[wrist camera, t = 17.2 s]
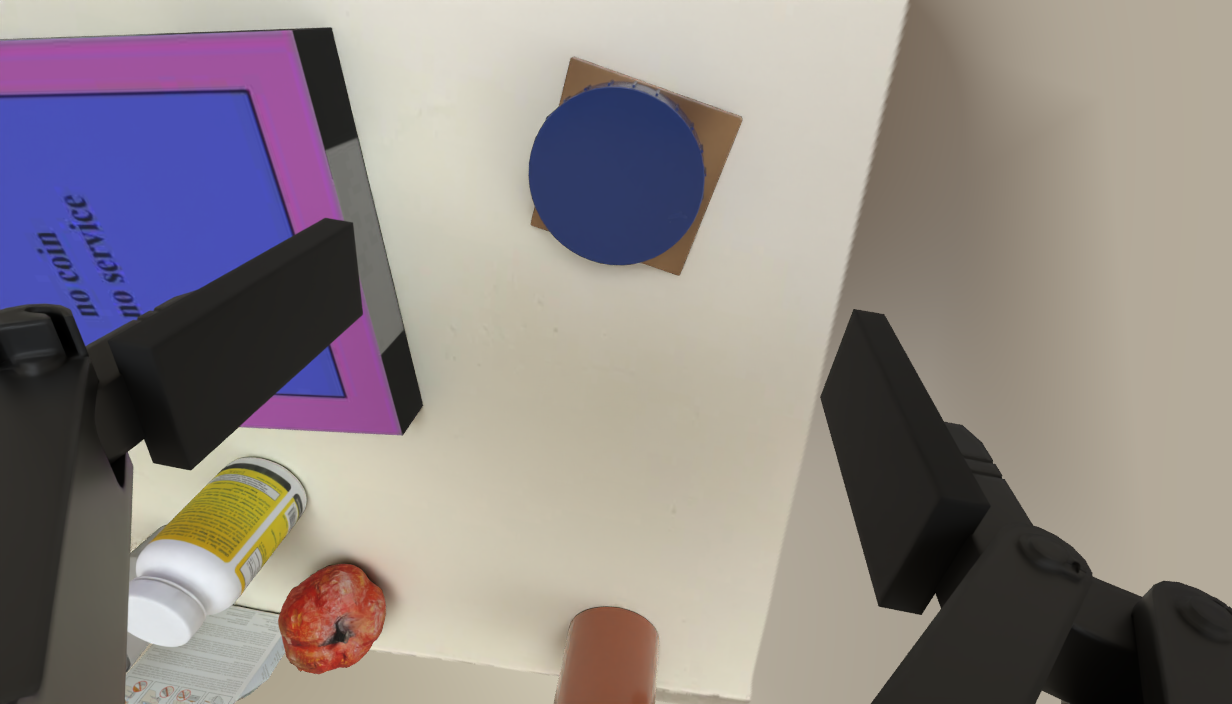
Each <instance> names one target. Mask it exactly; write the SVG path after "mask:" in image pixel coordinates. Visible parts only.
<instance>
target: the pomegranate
mask: <svg viewBox="0 0 1232 704" xmlns="http://www.w3.org/2000/svg"><path fill="white" fill-rule="evenodd" d="M385 615H386V604H385V598H384V595H383V592H382V590H381V588H379V587H378V586H377V585H375V584H374V583H373V582H371V581H370V580H369V579H368V577H367V576H366V574H365V573H364V572H363V571H362V569H360V568H358V567H356V566H355V565H350V564H336V565H329V566H327V567H325V568H323V569H321V570H319V571H317V572H316V573H314V574H312V575H311V576H310V577H309V578H307V579H306V580H305V581H303V582H302V583H300V585H299V586H297V587H294V588H293V589H292V590H291V591H290V593H289V595H288V596H287V599H286V601H285V602H284V604H283V606H282V609H281V612H280V615H279V619H278V625H279V630H280V633H281V635H282V641H283V645H284V649H285V652H286V657H287V658H288V659H289V661H290V663H291V664H293V665H295V666H296V667H297V668H298V670H300V671H302V670H303V671H305V672H309V673H314V674H321V673H324V672H326V671H329V670H333V669H336V668H339V667H342V668H344V667H346V668H347V667H350V666H351V665H353V664H355V663H357V662H358V661H359V660H360V659H361V658H362V657H363V656H364V655H365V654H366V653H367V652H368V651H369V649H370V648H371V646H372V644H373V642H374V641H375V640H377V638H378V637H379V635H380V634H381V632H382V629H383V624H384V620H385Z"/></svg>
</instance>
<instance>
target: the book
mask: <svg viewBox="0 0 1232 704" xmlns="http://www.w3.org/2000/svg"><path fill="white" fill-rule="evenodd" d="M324 218H330V219H336V220H342V221H348V222H353V226H354V235H355V244H356V253H357V263H358V272H359V281H360V290H361V299H362V308H363V315H362V316H361V317H360V318H359V319H358V320H357V321H355V322H354V323H353V324H352V325H351V326H350V327H349V328H348V329H347V330H345V331H344V332H343V333H342V334H341V335H340V336H339V337H338V338H337V339H336V340H334V341H333V342H332V343H331V344H330V345H329V346H328V347H327V348H326V349H324V350H323V351H322V352H321V353H320V354H319V355H318V356H317V357H316V358H315V359H313V360H312V361H311V362H310V363H309V364H308V365H307V366H306V367H305V368H303V369H302V370H301V371H300V372H299V373H298V374H297V375H296V376H295V377H294V378H292V379H291V380H290V381H289V382H288V383H287V384H286V385H285V386H284V387H282V388H281V389H280V390H279V391H278V392H277V393H276V394H275V395H274V396H273V397H271V398H270V399H269V400H268V401H267V402H266V403H265V404H264V405H263V406H262V407H260V408H259V409H258V410H257V411H256V412H255V413H254V414H253V415H252V416H250V417H249V418H248V419H247V420H246V421H245V422H244V423H243V424H242V425H241V426H239V427H248V428H268V429H287V430H307V431H326V432H346V433H365V434H385V435H403V434H404V433H405V431H406V430H407V428H408V427H409V425H410V424H411V423H412V421H413V420H414V418H415V417H416V415H417V414H418V412H419V411H420V409H421V408H422V406H423V404H422V400H421V396H420V391H419V387H418V383H417V379H416V375H415V371H414V367H413V363H412V358H411V354H410V350H409V346H408V342H407V338H406V334H405V330H404V325H403V321H402V317H401V313H400V309H399V305H398V301H397V297H396V292H395V288H394V284H393V280H392V276H391V272H390V268H389V264H388V259H387V255H386V251H385V247H384V243H383V239H382V235H381V231H380V226H379V222H378V218H377V214H376V210H375V206H374V202H373V198H372V193H371V189H370V185H369V181H368V177H367V173H366V169H365V165H364V160H363V156H362V152H361V148H360V144H359V140H358V136H357V132H356V127H355V123H354V119H353V115H352V111H351V107H350V103H349V99H348V94H347V90H346V86H345V82H344V78H343V74H342V70H341V65H340V61H339V57H338V53H337V49H336V45H335V41H334V37H333V32H332V28H304V29H276V30H248V31H220V32H193V33H165V34H137V35H109V36H82V37H54V38H26V39H0V310H1V309H4V308H9V307H14V306H20V305H26V304H45V303H46V304H55V305H62V306H64V307H66V308H68V309H71V311H72V314H73V316H74V319H75V321H76V324H77V326H78V329H79V331H80V334H81V336H82V339H83V341H84V344H85V346H86V345H88V344H90V343H92V342H94V341H95V340H97V339H99V338H101V337H103V336H104V335H106V334H108V333H110V332H112V331H114V330H115V329H117V328H119V327H121V326H123V325H124V324H126V323H128V322H130V321H132V320H137V317H139V316H141V315H142V314H144V313H146V312H148V311H150V310H151V311H154V308H155V307H157V306H159V305H161V304H162V303H164V302H166V301H168V300H170V299H171V298H173V297H176V296H179V295H182V294H185V293H188V292H192V291H195V290H198V289H200V288H201V287H203V286H205V285H207V284H208V283H210V282H212V281H214V280H216V279H217V278H219V277H221V276H223V275H224V274H226V273H228V272H230V271H232V270H233V269H235V268H237V267H239V266H240V265H242V264H244V263H246V262H247V261H249V260H251V259H253V258H255V257H256V256H258V255H260V254H262V253H263V252H265V251H267V250H269V249H271V248H272V247H274V246H276V245H278V244H279V243H281V242H283V241H285V240H286V239H288V238H290V237H292V236H294V235H295V234H297V233H299V232H301V231H302V230H304V229H306V228H308V227H310V226H311V225H313V224H315V223H317V222H318V221H320V220H322V219H324Z"/></svg>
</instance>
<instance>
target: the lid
mask: <svg viewBox="0 0 1232 704" xmlns="http://www.w3.org/2000/svg"><path fill="white" fill-rule="evenodd" d="M563 102H564V103H563V104H561V105H560V106H559V107H558V108H557V109H556V110H555V111H553V113H551V114H550V115H549V116H547V118H546V119H547V120H546V121H545V122H544V124H543V126H542V127H541V129H540V130H539V132H538V135H537V136H536V138H535V141H534V144H533V147H532V151H531V155H530V161H529V185H530V191H531V195H532V199H533V202H534V205H535V208H536V210H537V212H538V214H539V216H540V218H541V220H542V221H543V223H544V224H545V226H546V228H547V229H548V230H549V231H550V232H551V234H552V235H553V236H554V237H555V238H556V239H557V240H558V241H559V242H560V243H561V244H562V245H564V246H565V247H566V248H568V249H569V250H571V251H572V252H574V253H576V254H577V255H579V256H581V257H584V258H586V259H588V260H591V261H595V262H598V263H602V264H609V265H630V264H636V263H640V262H644V261H647V260H650V259H653V258H655V257H657V256H659V255H661V254H663V253H664V252H666V251H667V250H668V249H670V248H671V247H673V246H674V245H675V244H676V243H677V242H678V241H679V240H680V239H681V238H682V237H683V236H684V235H685V234H686V232H687V231H688V230H689V228H690V226H691V225H692V223H693V222H694V220H695V218H696V216H697V214H698V211H699V208H700V205H701V202H702V200H703V199H704V182H705V176H706V167H704V156H703V144H701V143H700V140H699V137H698V134H697V132H696V130H695V128H694V123H693V122H692V123H691V121H690V120H689V118H688V117H687V115H686V114H685V113H684V112H683V111H682V110H681V108H680V107H679V104H676V103H674V102H673V101H672V100H671V99H670V98H668V97H667V96H665V95H664V94H662V93H661V92H660V90H659V89H658V90H655V89H652V88H650V87H648V86H645V85H641V84H638V81H635V82H634V83H633V82H626V81H614V80H611V81H610V82H606V83H600V84H597V85H593V86H591V84H590V85H588V86H587V87H585V88H584V90H582V91H580V92H578V93H577V94H575V95H574V96H572V97H571V96H569V97H567V98H566V99H564V100H563Z"/></svg>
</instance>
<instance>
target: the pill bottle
mask: <svg viewBox="0 0 1232 704" xmlns="http://www.w3.org/2000/svg"><path fill="white" fill-rule="evenodd" d="M306 504H307V498H306V493H305V490H304V488H303V486H302V485H301V483H300V482H299V480H298V479H297V478H296V477H295V476H294V475H293V474H292V473H291V472H290V471H288V470H287V469H286V468H284V467H283V466H281V465H279V464H277V463H274V462H272V461H269V460H265V459H261V458H254V457H247V458H240V459H237V460H234V461H232V462H231V463H229V464H228V465H227V466H226V467H225V468H224V469H222V470H221V471H220V472H219V473H218V474H217V475H216V476H215V477H214V478H213V479H212V480H211V481H210V482H209V483H208V484H207V485H206V486H205V487H204V488H203V489H202V490H201V491H200V492H199V493H198V494H197V495H196V496H195V497H194V498H193V499H192V500H191V501H190V502H189V503H188V504H187V505H186V506H185V507H184V508H183V509H182V510H181V511H180V512H179V513H178V514H177V515H176V516H175V518H174V519H173V520H172V521H171V522H170V523H169V524H168V525H167V526H166V527H165V528H164V529H163V530H162V531H161V532H160V533H159V534H158V535H157V536H156V537H155V538H154V539H153V540H152V541H151V542H150V543H149V544H148V545H147V546H146V547H145V548H144V549H143V550H142V552H141V553H140V555H139V557H138V559H137V562H136V575H137V577H136V578H134V579H133V580H131V581H130V582H129V600H128V627H127V631H128V632H129V633H131V634H133V635H134V636H136V637H138V638H140V639H142V640H144V641H147V642H149V643H152V644H155V645H160V646H165V647H177V646H181V645H184V644H186V643H187V642H188V641H189V640H190V639H191V638H192V637H193V635H194V634H195V633H196V632H197V631H198V629H199V628H200V627H201V625H202V624H203V622H204V621H205V619H206V615H212V614H216V613H219V612H222V611H224V610H226V609H227V608H229V607H230V606H231V605H233V604H234V603H235V602H236V600H237V599H238V598H239V597H240V596H241V594H242V593H243V592H244V590H245V589H246V587H247V586H248V585H249V584H250V582H251V581H252V580H253V578H254V577H255V576H256V574H257V573H258V572H259V570H260V569H261V568H262V566H263V565H264V564H265V563H266V561H267V560H268V559H269V557H270V556H271V555H272V553H273V552H274V551H275V549H276V548H277V547H278V545H279V544H280V543H281V542H282V540H283V539H284V538H285V536H286V535H287V534H288V533H289V531H290V530H291V529H292V527H293V526H294V525H295V524H296V522H297V521H298V519H299V518H300V516H301V515H302V514H303V512H304V510H305V508H306Z"/></svg>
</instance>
